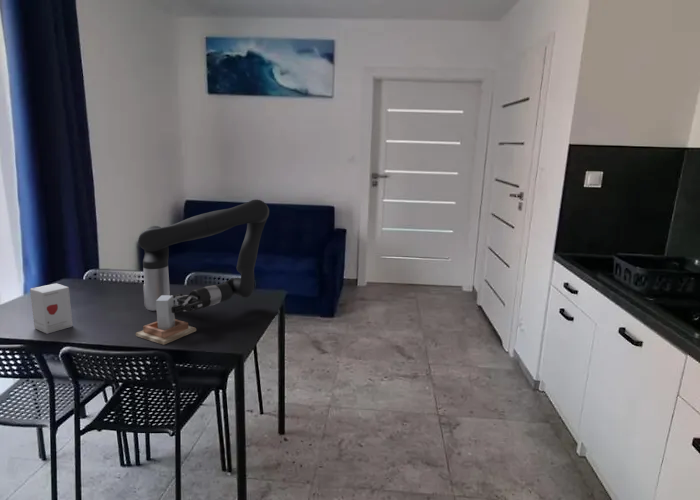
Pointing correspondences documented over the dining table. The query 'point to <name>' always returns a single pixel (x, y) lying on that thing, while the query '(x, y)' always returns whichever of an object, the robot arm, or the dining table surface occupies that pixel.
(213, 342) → the dining table surface
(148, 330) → the serum stand
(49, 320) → the supplement box
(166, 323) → the skincare box
